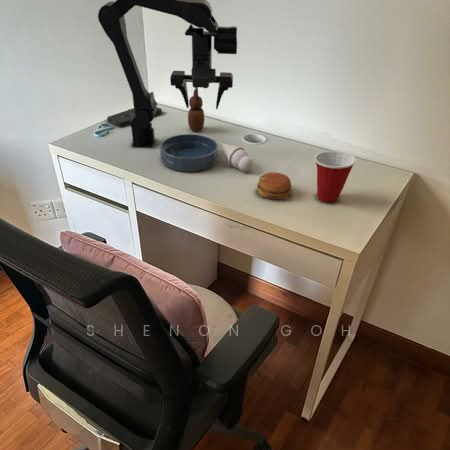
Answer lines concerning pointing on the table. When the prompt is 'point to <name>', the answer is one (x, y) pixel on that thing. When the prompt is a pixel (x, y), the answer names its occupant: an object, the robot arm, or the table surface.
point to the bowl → (189, 152)
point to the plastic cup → (332, 174)
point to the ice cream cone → (238, 157)
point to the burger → (274, 185)
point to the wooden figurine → (196, 112)
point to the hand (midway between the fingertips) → (202, 108)
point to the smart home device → (125, 117)
